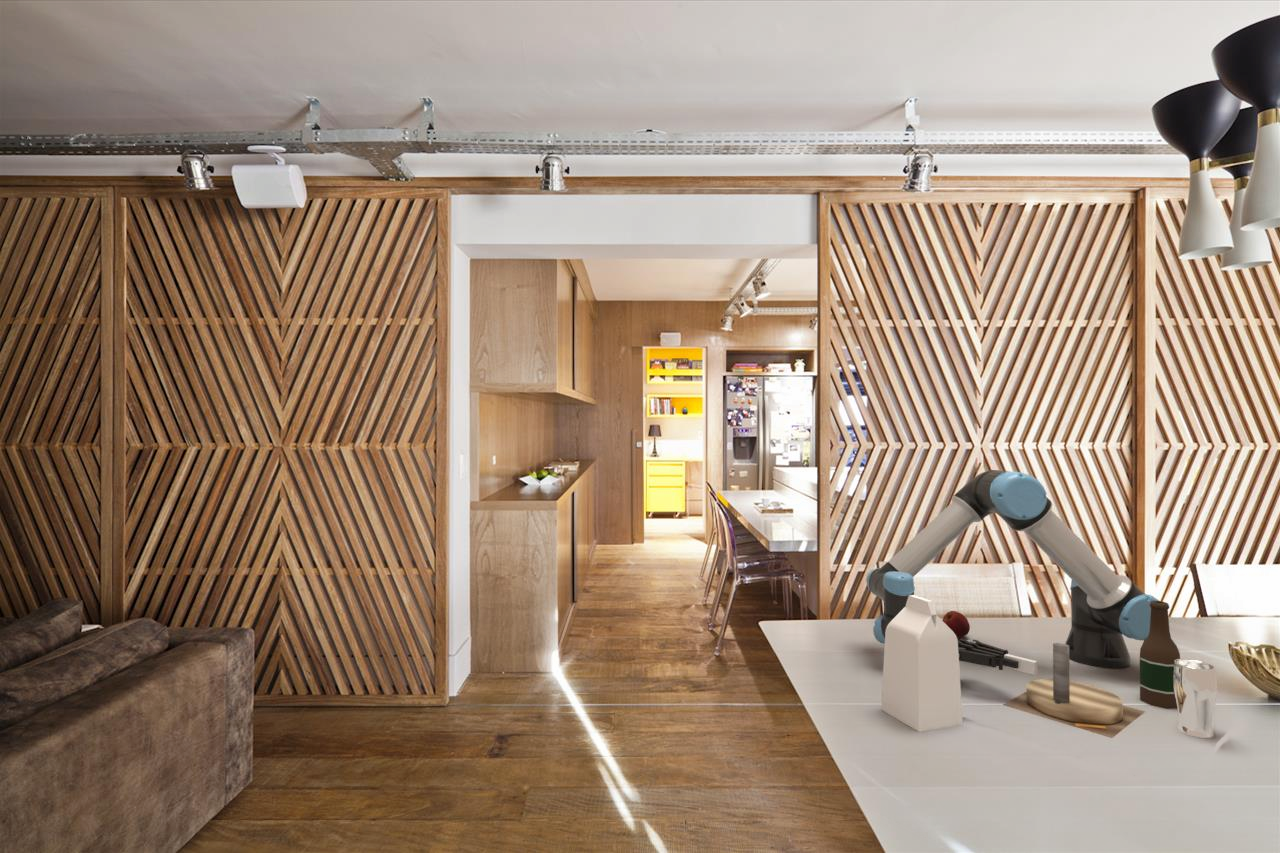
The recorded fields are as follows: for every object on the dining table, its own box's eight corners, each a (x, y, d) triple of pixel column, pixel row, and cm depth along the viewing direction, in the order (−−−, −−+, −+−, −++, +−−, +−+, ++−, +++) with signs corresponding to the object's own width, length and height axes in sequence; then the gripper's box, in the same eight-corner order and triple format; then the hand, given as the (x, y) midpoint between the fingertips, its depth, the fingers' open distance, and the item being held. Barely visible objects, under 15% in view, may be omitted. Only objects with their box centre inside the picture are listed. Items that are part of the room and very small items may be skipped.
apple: (938, 633, 209) (938, 607, 209) (965, 634, 208) (964, 608, 208) (946, 640, 202) (946, 613, 202) (973, 641, 201) (973, 614, 201)
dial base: (1041, 688, 163) (1041, 682, 163) (1145, 716, 147) (1145, 710, 147) (1002, 709, 150) (1002, 703, 150) (1112, 743, 134) (1112, 736, 134)
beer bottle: (1173, 703, 154) (1172, 599, 154) (1188, 716, 147) (1187, 607, 147) (1133, 698, 157) (1132, 596, 157) (1146, 711, 149) (1145, 604, 150)
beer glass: (1225, 746, 132) (1224, 670, 133) (1186, 743, 134) (1185, 668, 134) (1203, 731, 139) (1203, 659, 140) (1166, 728, 141) (1165, 657, 141)
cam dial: (1045, 685, 161) (1044, 623, 161) (1134, 710, 147) (1134, 641, 147) (1012, 704, 150) (1012, 637, 150) (1105, 732, 136) (1105, 658, 136)
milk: (881, 709, 150) (880, 593, 151) (922, 703, 154) (922, 590, 154) (918, 731, 139) (918, 606, 139) (962, 724, 142) (962, 602, 143)
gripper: (947, 652, 171) (1047, 678, 153) (920, 662, 163) (1023, 691, 145) (947, 622, 171) (1047, 645, 153) (920, 631, 163) (1023, 657, 145)
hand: (1035, 667), depth 149 cm, fingers closed
